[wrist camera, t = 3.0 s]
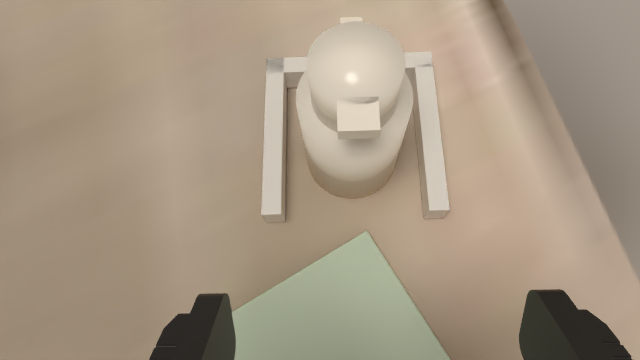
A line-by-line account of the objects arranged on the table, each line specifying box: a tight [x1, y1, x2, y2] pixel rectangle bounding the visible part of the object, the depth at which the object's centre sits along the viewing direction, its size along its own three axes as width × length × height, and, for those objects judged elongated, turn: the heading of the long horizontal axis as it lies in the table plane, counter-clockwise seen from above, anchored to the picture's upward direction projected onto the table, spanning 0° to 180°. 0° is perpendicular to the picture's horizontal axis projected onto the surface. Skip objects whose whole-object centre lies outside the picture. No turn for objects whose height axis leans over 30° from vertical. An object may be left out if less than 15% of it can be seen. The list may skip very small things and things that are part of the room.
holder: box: [261, 52, 450, 223], centre depth 29 cm, size 11×11×2 cm
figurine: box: [296, 17, 413, 199], centre depth 25 cm, size 8×6×11 cm
